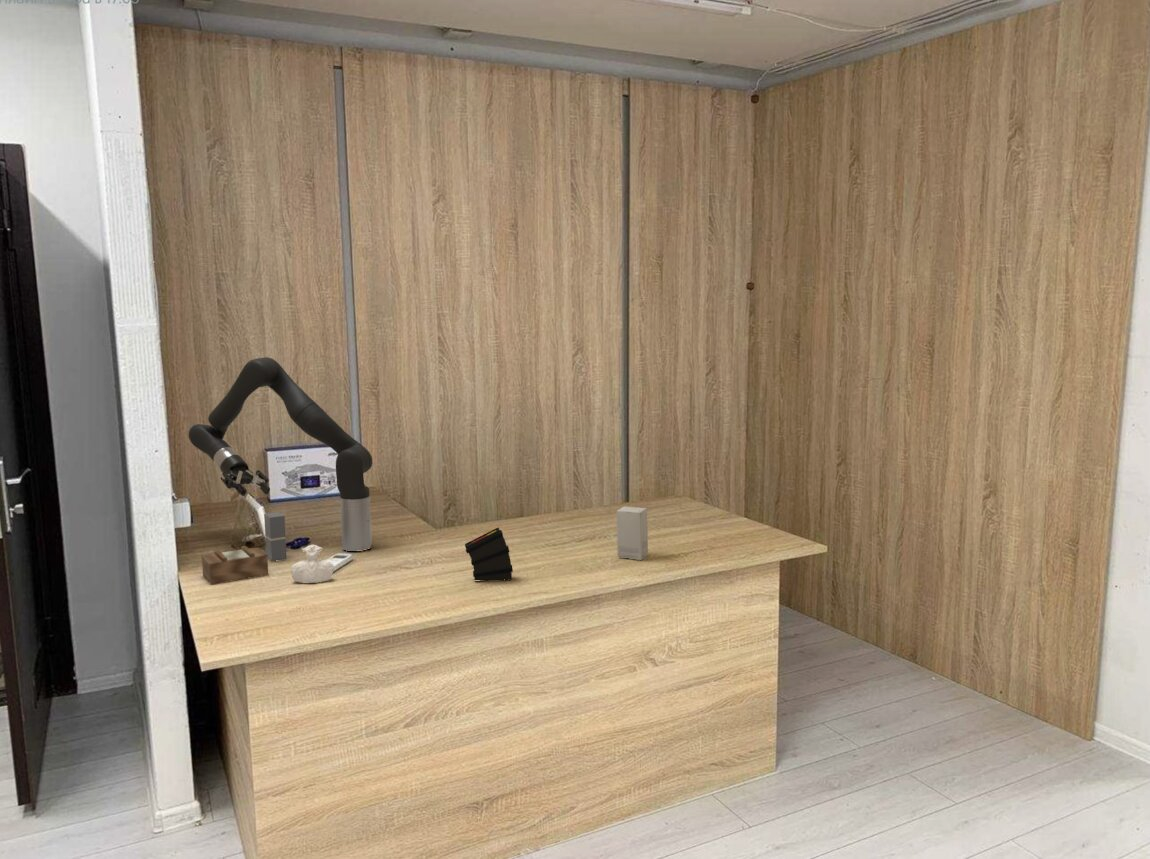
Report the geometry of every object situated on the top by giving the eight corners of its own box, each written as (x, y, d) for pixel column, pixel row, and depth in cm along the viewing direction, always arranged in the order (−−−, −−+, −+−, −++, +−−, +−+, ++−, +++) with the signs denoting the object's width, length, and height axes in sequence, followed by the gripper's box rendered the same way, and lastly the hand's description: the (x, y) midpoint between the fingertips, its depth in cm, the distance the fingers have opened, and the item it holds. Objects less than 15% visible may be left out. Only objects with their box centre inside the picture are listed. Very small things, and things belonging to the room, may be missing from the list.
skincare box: (648, 556, 278) (648, 507, 275) (641, 561, 272) (641, 512, 270) (623, 553, 281) (624, 505, 279) (615, 558, 275) (616, 509, 273)
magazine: (523, 574, 253) (500, 529, 250) (482, 595, 252) (458, 550, 250) (522, 570, 257) (499, 526, 254) (481, 591, 256) (458, 547, 253)
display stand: (258, 566, 267) (257, 544, 266) (268, 574, 259) (267, 551, 258) (203, 575, 258) (201, 552, 257) (210, 584, 250) (209, 560, 249)
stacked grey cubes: (266, 557, 277) (263, 513, 275) (281, 555, 279) (278, 511, 277) (271, 562, 272) (269, 517, 270) (286, 559, 274) (284, 515, 272)
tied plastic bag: (334, 586, 255) (335, 550, 260) (332, 577, 248) (333, 540, 254) (291, 589, 253) (293, 552, 258) (288, 579, 246) (290, 542, 252)
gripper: (214, 454, 279) (241, 484, 272) (253, 453, 291) (279, 482, 284) (207, 473, 282) (232, 503, 274) (245, 472, 294) (271, 500, 286)
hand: (256, 492), depth 279 cm, fingers open, 8 cm apart
